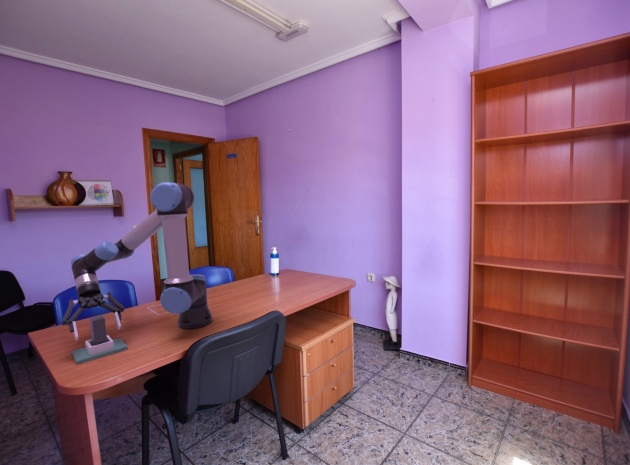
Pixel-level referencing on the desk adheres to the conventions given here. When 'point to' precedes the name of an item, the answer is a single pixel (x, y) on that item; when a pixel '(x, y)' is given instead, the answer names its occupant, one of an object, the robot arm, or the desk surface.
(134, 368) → the desk surface
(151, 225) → the robot arm
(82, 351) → the board
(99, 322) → the block
